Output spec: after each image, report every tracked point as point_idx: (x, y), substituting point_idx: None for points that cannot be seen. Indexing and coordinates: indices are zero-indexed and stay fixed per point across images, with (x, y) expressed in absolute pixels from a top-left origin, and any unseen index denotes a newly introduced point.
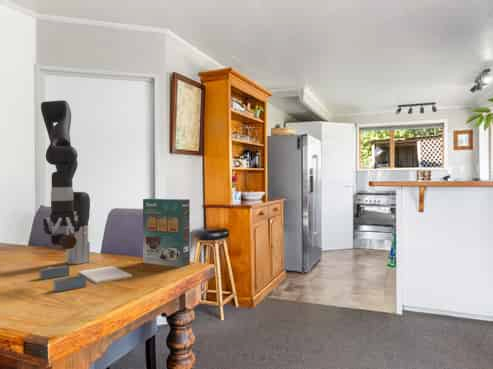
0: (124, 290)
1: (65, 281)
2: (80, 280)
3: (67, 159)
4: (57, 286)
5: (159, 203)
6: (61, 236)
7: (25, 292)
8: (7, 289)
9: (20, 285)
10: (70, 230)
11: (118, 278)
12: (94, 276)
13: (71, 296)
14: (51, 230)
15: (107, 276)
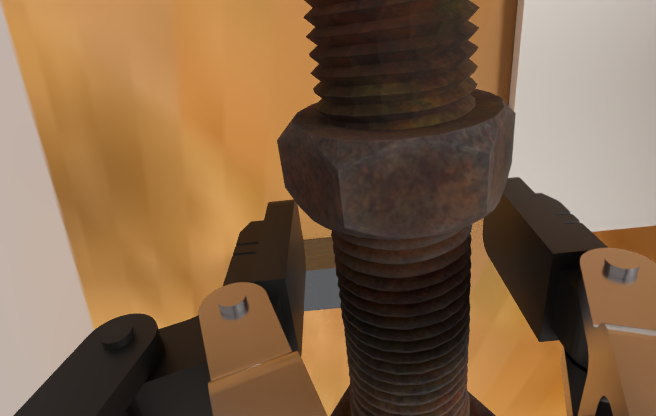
0: (537, 390)
1: (337, 304)
2: None
3: None
4: None
5: None
6: (385, 329)
7: (153, 202)
8: (38, 76)
9: (99, 14)
10: (572, 401)
11: (632, 223)
12: (547, 128)
13: (340, 361)
14: (211, 369)
15: (604, 176)
